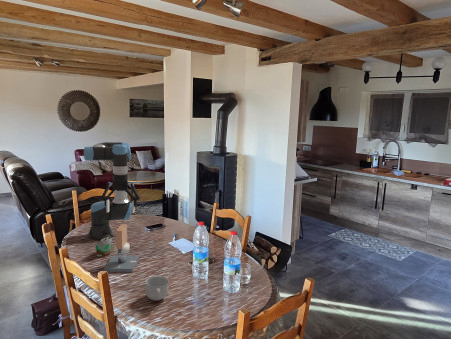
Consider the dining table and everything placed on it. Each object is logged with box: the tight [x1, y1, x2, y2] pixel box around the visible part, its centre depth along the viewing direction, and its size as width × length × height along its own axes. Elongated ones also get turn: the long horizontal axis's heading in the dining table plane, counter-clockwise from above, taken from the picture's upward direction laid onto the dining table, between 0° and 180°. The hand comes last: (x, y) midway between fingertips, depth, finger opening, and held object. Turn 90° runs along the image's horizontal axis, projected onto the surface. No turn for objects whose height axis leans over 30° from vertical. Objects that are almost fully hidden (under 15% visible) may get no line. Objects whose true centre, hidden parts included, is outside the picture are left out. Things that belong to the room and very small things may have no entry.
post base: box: [103, 252, 140, 273], centre depth 176 cm, size 17×15×8 cm
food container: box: [94, 235, 113, 258], centre depth 189 cm, size 12×6×10 cm, turn 168°
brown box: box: [113, 223, 131, 254], centre depth 175 cm, size 11×8×13 cm
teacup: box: [144, 275, 170, 301], centre depth 145 cm, size 14×11×8 cm
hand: (120, 212), depth 172 cm, fingers open, 13 cm apart
